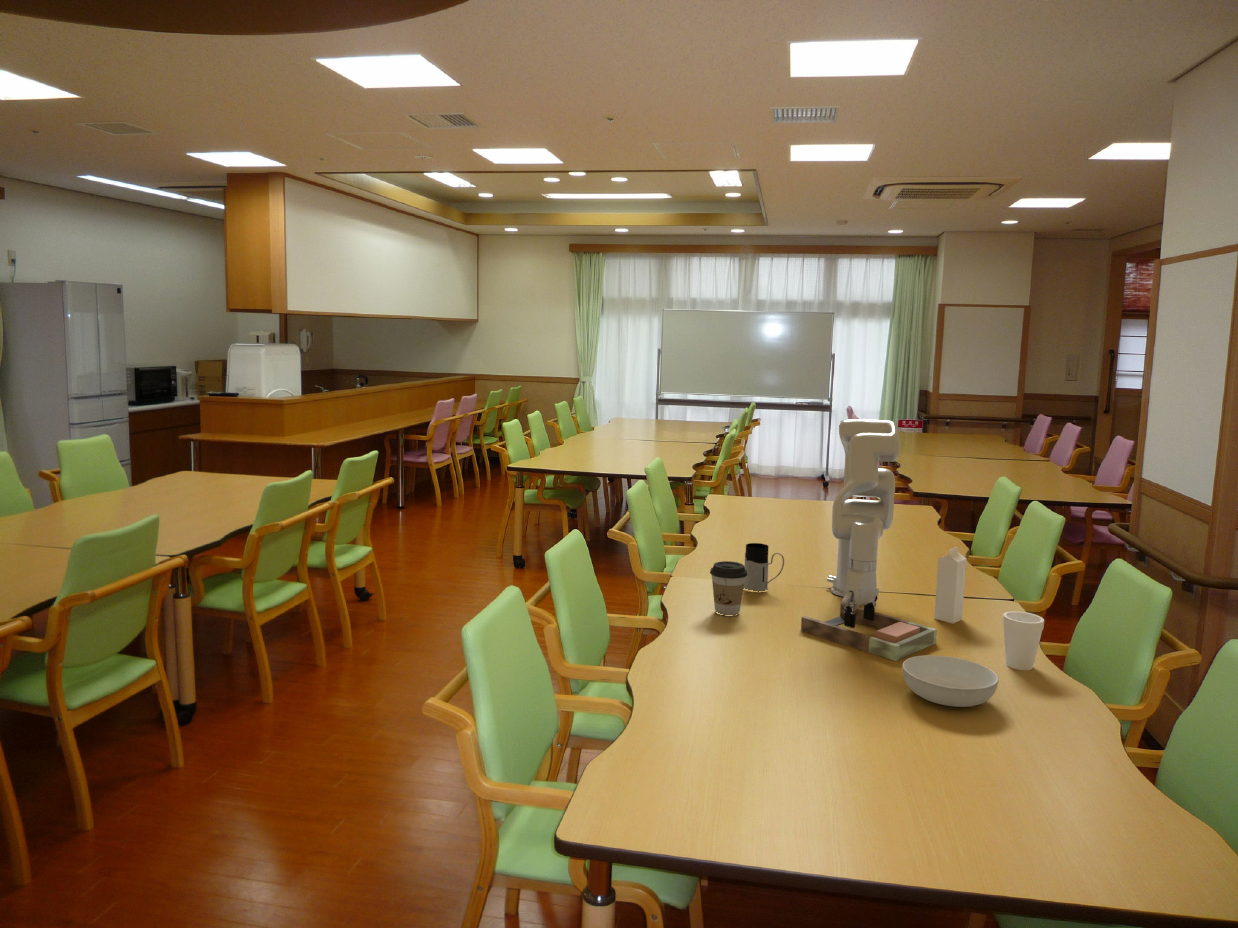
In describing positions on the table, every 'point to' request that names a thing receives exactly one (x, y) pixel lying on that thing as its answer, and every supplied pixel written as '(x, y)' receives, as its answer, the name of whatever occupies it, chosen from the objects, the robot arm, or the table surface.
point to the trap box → (868, 642)
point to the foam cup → (1021, 638)
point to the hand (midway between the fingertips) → (859, 623)
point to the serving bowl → (949, 680)
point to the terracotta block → (897, 632)
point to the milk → (950, 587)
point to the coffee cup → (728, 586)
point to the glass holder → (758, 566)
